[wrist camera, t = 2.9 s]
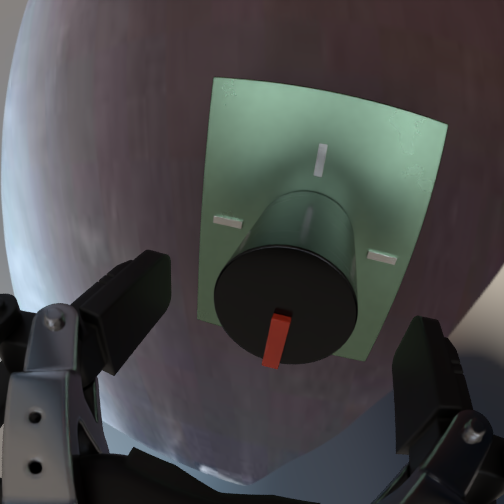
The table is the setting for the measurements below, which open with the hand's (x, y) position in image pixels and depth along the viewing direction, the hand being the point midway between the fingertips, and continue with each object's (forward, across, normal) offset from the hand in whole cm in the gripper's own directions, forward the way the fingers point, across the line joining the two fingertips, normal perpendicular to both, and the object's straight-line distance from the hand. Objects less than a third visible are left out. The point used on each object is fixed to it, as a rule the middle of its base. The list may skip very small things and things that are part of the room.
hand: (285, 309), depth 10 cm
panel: (+8, 0, 0) cm, 8 cm away
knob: (+5, 0, 0) cm, 5 cm away
